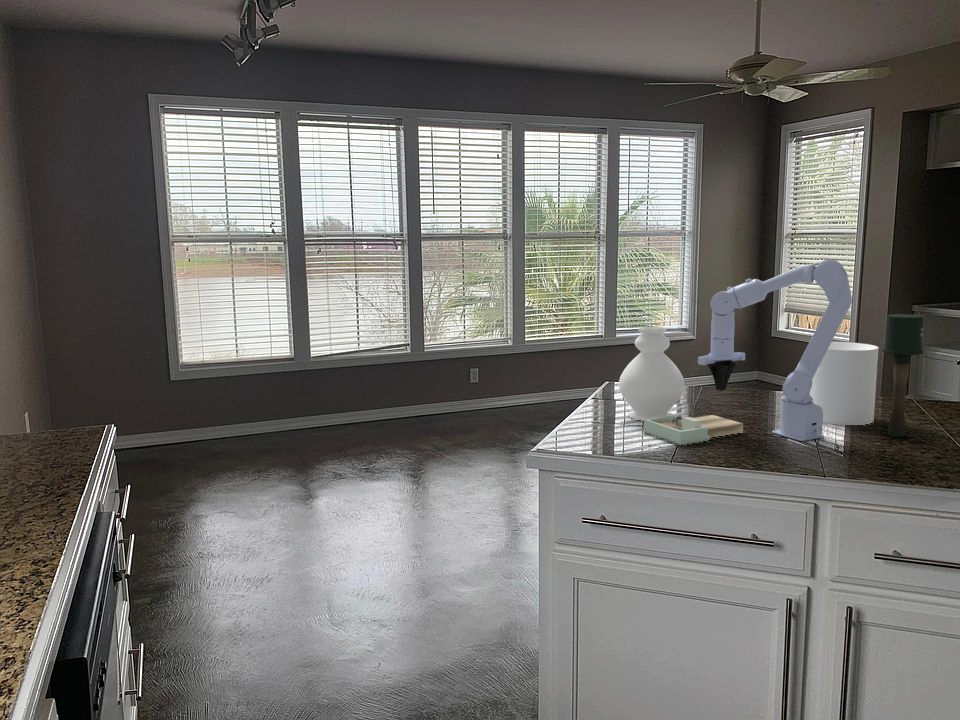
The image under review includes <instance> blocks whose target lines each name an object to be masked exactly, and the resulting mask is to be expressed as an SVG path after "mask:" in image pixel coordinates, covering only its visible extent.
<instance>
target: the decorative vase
mask: <svg viewBox="0 0 960 720" xmlns="http://www.w3.org/2000/svg"><path fill="white" fill-rule="evenodd" d="M667 330H668V328H666V327H664V326H640V327H638V332H639V333H641V334H640V335H639V336H637V338H635V340H634V346H635V347H636V349H638V351H640V352H639V353H638V354H637V355H636V356H635V357H634V358H633V359H632V360H631V361H629V363H628V364H627V366H626V367H625V368H624V370H623V371H622V373H621V375H620V377H619V381H618V388H619V393H620V394H621V396H622V398H623V399H624V400H625V402H626V403H627V404H628V405H629V406H630V407H631V409H632V411H630V412H628V413H627V417H628V416H629V417H630V418H629V417H628V418H629V419H631V418H633V419H637V420H641V421H640V422H643V421H644V420H645V419H652V418H658V417H665V416H672V420H674V418H675V415H674V414H673V413H672V412H670V410H671V409H672V408H673V407H674V406H675V405H676V403H677V402H678V401H679V399H681V397H682V396H683V394H684V392H685V380H684V377H683V375H682V373H681V371H680V369H679V368H678V367H677V365H676V364H675V363H674V361H672V360H671V358H670V357H668V356H667V354H666V353H664V352H665V351H666V350H667V349H668V348H669V347H670V345H671V343H670V340H669V338H668V337H667V336H666V335H665V334H664V333H666V332H667ZM633 419H632V420H633ZM637 420H636V421H637Z"/></svg>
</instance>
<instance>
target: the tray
mask: <svg viewBox="0 0 960 720" xmlns="http://www.w3.org/2000/svg"><path fill="white" fill-rule="evenodd" d="M672 421H673V419H672V416H665V417H658V418H652V419H645V420H644V422H643V433H644V432H645V433H644V434H646V433H648V434H651V435H653V436H652V437H654V436H656V437H655V438H657V437H659V438H658V439H660V438H661V439H660V440H662V439H664V440H663V441H665V440H667V441H666V442H668V441H669V442H668V443H671V442H672V443H671V444H673V443H675V444H674V445H676V444H677V445H676V446H679V445H680V446H679V447H682V446H681V445H683V446H687V444H689V445H694V444H693V443H695V444H700V443H704V442H703V441H706V442H709V441H708V440H711V439H710V436H708V435H707V433H708V427H701V428H695V429H688V430H682V427H680V426H678V429H674V428H671V427H668V426H665V425H662V424H659V423H664V422H668V423H671V424H673V422H672ZM648 434H647V435H648ZM651 435H650V436H651ZM699 442H700V443H699Z"/></svg>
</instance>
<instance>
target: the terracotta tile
mask: <svg viewBox="0 0 960 720" xmlns="http://www.w3.org/2000/svg"><path fill="white" fill-rule="evenodd" d="M659 424H662V425H665V426H668V427H671V428H674V429H678V426H677V424H674V423H672V424H671V423H668V422H664V423H659Z"/></svg>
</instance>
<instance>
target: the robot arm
mask: <svg viewBox="0 0 960 720" xmlns="http://www.w3.org/2000/svg"><path fill="white" fill-rule="evenodd" d="M744 281H745V282H743V283H741V284H738V285H736V286H733V287H732V286H728V287H726V290H723V291H719V292H717V293H716V294H714V295H713V296H712V297H711V299H710V304H709V305H710V309H711V310H712V311H711V312H712V313H711V324H710V352H709V353H708V354H706V355H702V356H701V355H700V356H698V357H697V364H698V365H700V366H706V365H707V367H708V369H709V370H710V372H711V374H712V377H713V380H714V384H715V390H718V391H722V392H723V391H726V390H727V386H728V383H729V380H730V377H731V375H732V373H733V372H734V370H735V368H736V367H737V365H736V362H737V361H746V352H739V351H737V352H736V351H734V350H735V325H736V323H735V322H736V321H735V310H736V309H737V310H738V309H739V310H740V309H743V308H746V307H748V306H752V305H755V304H757V303H759V302H763V301H765V299H766V297H767V295H768V294H769V293H772V292H774V291H777V290H780V289H782V288H783V289H784V288H786V287H788V286H791V285H794V284H798V283H805V284H812V283H813V284H814V282H815V283H816V284H817V285H818V286H819V287H820V288H821V289H822V290H823V292H824V293H825V296H826V298H827V300H828V302H829V303H828V305H827V307H826V309H825V311H824V313H823V315H822V317H821V319H820V321H819V323H818V324H817V327H816V329H815V331H814V332H813V334H812V336H811V338H810V340H809V342H808V344H807V346H806V348H805V350H804V352H803V354H802V356H801V357H800V360H799V361H798V364H797V366H796V368H795V369H794V370H793V371H792V372H790V373H789V374H788V375H787V377H786V378H785V381H784V382H783V385H782V388H781V389H782V394H783V396H781V397H780V399H781V402H780V419H779V420H780V421H779V429H776V430H771V433H773V434H775V435H779V436H782V437H786V438H789V439H792V440H796V441H800V442H805V441H806V442H807V441H811V440H816V439H821V438H824V437H825V435H824V434H823V424H824V423H823V411H822V408H821V407H820V406H819V405H816V404H814V402H813V398H812V397H811V396H810V390H811V388H812V379H813V377H814V375H815V373H816V371H817V369H818V367H819V365H820V363H821V361H822V359H823V357H824V355H825V353H826V352H827V350H828V348H829V346H830V344H831V342H833V340H834V339H835V336H836V334H837V332H838V331H839V328H840V327H841V325H842V323H843V321H844V319H845V317H846V314H847V313H848V311H849V309H850V307H851V306H852V302H853V298H852V293H851V292H852V291H851V287H850V281H849V276H848V273H847V271H846V269H845V268H844V266H843V265H842V264H841V262H840V261H838V260H836V259H825V260H823V261H821V262H819V263H818V262H813V263H808V264H805V265H801V266H798V267H796V268H794V269H791V270H789V271H786V272H784V273H781V274H778V275H776V276H774V277H772V278H769V279H767V280H763V281H762V280H760V279H759V278H754V279H752V278H751V277H749V278H747V279H745V280H744Z"/></svg>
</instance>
